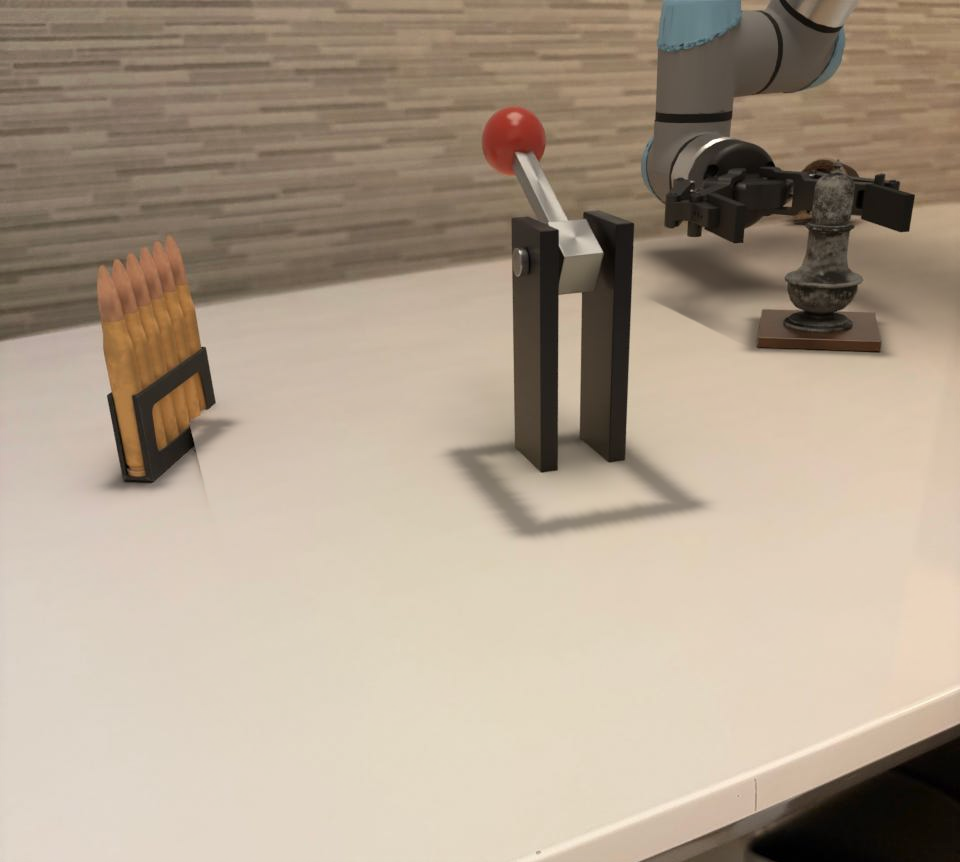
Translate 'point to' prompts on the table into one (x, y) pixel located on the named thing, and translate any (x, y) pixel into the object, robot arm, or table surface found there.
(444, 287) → the table surface
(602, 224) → the bracket
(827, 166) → the mechanical counter
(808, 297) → the salt shaker
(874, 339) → the coaster
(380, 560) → the table surface
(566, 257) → the lever
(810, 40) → the robot arm
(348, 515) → the table surface
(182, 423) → the ammunition clip
